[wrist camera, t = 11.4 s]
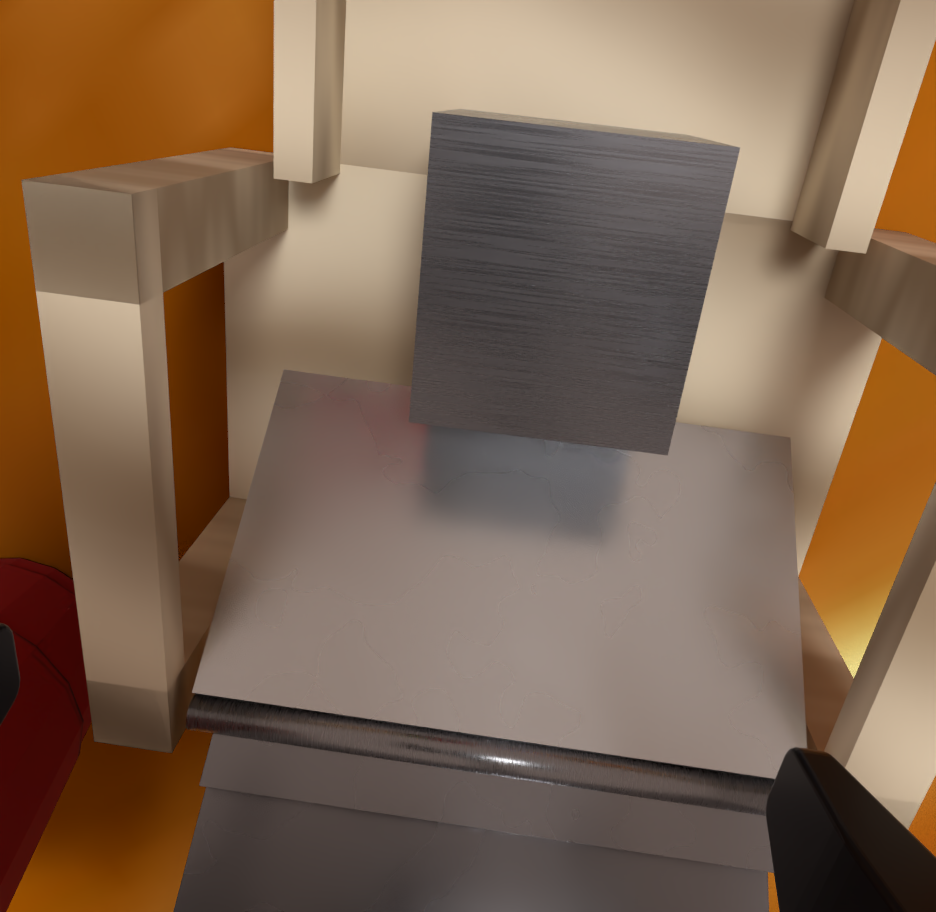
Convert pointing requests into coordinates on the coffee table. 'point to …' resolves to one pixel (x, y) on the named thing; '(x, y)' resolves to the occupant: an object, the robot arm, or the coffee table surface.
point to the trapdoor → (495, 669)
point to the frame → (397, 288)
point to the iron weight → (563, 276)
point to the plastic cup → (38, 709)
